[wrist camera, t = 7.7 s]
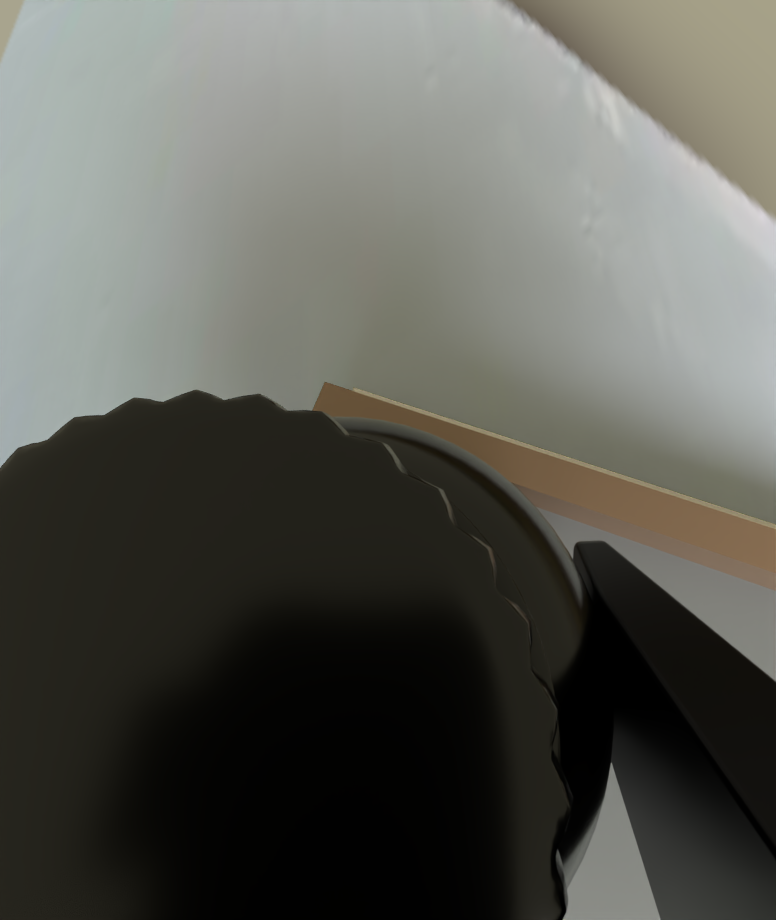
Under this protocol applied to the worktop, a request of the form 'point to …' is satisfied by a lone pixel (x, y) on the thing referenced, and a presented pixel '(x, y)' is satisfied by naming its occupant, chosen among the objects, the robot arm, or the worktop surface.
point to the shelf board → (652, 551)
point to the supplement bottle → (288, 675)
